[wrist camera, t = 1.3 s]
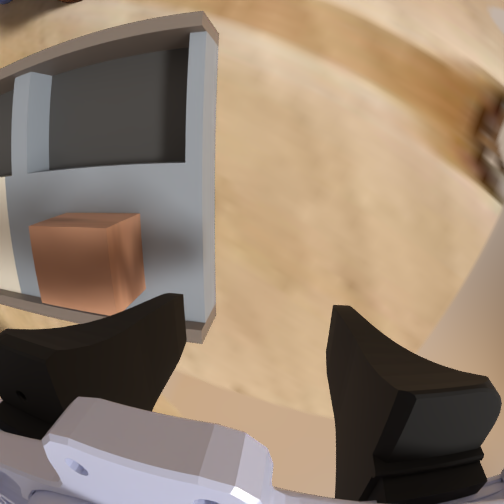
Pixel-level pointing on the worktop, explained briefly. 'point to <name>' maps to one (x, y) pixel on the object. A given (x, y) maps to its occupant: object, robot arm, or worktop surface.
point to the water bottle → (4, 1)
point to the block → (89, 261)
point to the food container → (70, 1)
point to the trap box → (116, 155)
